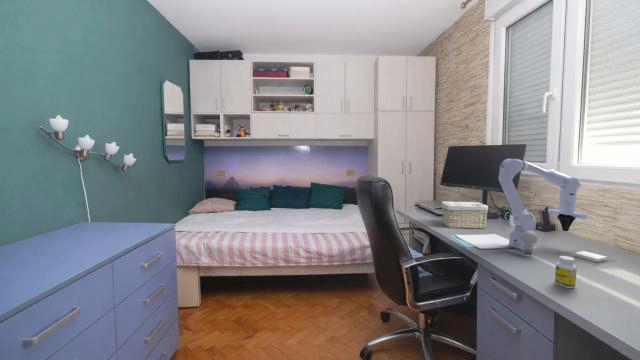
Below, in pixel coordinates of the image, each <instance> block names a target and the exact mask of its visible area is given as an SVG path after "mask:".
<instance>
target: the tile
mask: <svg viewBox="0 0 640 360" xmlns="http://www.w3.org/2000/svg"><path fill="white" fill-rule="evenodd" d="M580 251H581V252H576V253H574V256H575V257H579V258H582V259H586V260H589V261H593V262H601V261H605V260H607V258H608V256H606V255H602V254H597V253H593V252H590V251H585V250H580Z"/></svg>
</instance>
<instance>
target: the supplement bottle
mask: <svg viewBox="0 0 640 360" xmlns="http://www.w3.org/2000/svg"><path fill="white" fill-rule="evenodd" d="M558 257H559V258H558V262H556V265H555V274H554V275H555V276H554V283H555V284H556V285H558V286H559V287H563V288H567V289H574V288H575V287H576V282H577V271H578V270H577V269H578V267H577V266H576V265H575V261H576V260H575V259H574V258H572V257H568V256H560V255H558Z"/></svg>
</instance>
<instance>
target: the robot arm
mask: <svg viewBox="0 0 640 360" xmlns="http://www.w3.org/2000/svg"><path fill="white" fill-rule="evenodd" d="M521 171H527V172H530V173H532V174H535V175H537V176H541V177H542V178H543V181H546V182H547V183H551V184H553V185H556V186H558V187H560V192H559V208H558V209H554V208H549V209H547V212H548V214H553V215H557V219H558V221H559V222H560V226H561V229H562V231H563V232H568V231H569V230H570V227H571V225H572V223H574V221H575V220H576V219H577V218H579V219H582V220H585V219H588V214H587V213H586V214H585V213H581V212H576V206H577V193H578V189H579V188H580V187H581V185H582V184H581V183H580V181H579V179H578V178H577V177H571V176H569V174H567V173H562V172H559V170H558V169H556V168H555V169H551V168H550V169H548V170H547V169H544V168H542V167H540V166H538V165H535V164H534V163H533V164H532V163H531V162H529V161H525V160H521V159H520V158H519V159H518V158H506V159H504V160H503V161H502V162H501V163H500V165H499V173H498V182H499V184H500V186H501V188H502V190H503V193H504V195H505V197H506V199H507V202H508V204H509V206H510V208H511V210H512V217H513V218H512V222H513V224H514V225H515V226H514V229H513V230H512V231H511V232H510V233H509V239H508V245H509V247H512V248H515V249H519V250H522V251H523V250H525V245H524V242H523V240H522V238H521V235H522V233H523V232H525V231H533V230H534V229H535V228H536V225H537V223H536V221H535V219H534V218H533V217H531V216H530V214H529V213H528V211H527V210H526V208H525V206H524V204H523V201H522V200H521V197H520V194H519V192H518V190H517V188H516V186H515V184H514V182H513V178H514V177H515V176H516V175H517V174H518V173H519V172H521ZM533 232H534V231H533ZM536 248H537V247H536V246H534V247H533V249H536Z"/></svg>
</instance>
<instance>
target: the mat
mask: <svg viewBox="0 0 640 360" xmlns="http://www.w3.org/2000/svg"><path fill="white" fill-rule="evenodd" d="M581 251H582V250H579V249H571V250H565V251H560V252H556V253H554V255H557V256H568V257H572V258H574V259H575V261H577V262H582V263H585V264H588V265H591V266H601V265H606V264H610V263H614V262H618V260H617V259H613V258H610V257H607V260H605V261H601V262H593V261H589V260H586V259H582V258H579V257H575V256H574V253H576V252H581Z"/></svg>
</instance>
